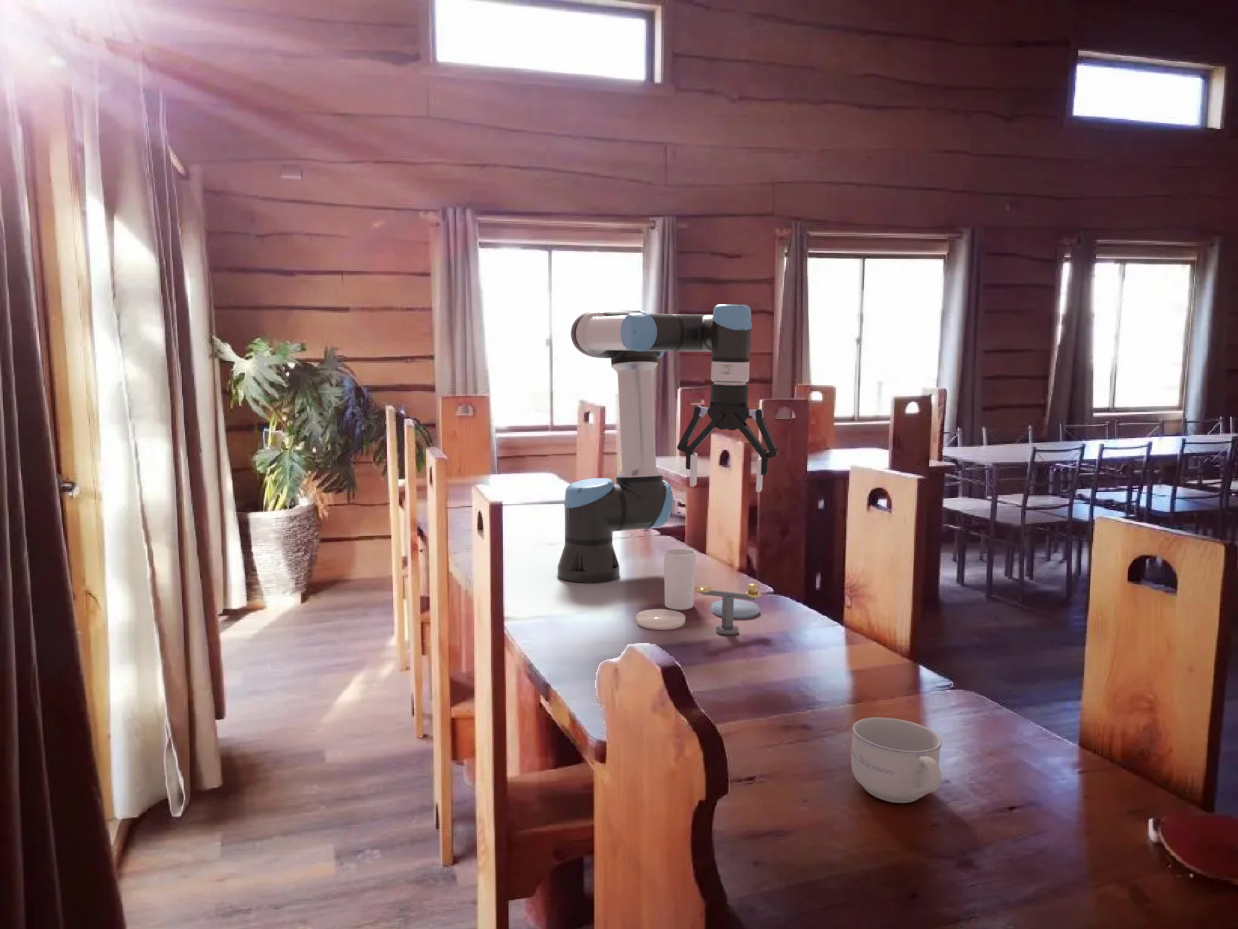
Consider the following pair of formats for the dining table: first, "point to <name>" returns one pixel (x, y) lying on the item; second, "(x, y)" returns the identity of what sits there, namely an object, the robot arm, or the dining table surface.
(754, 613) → the dish blue
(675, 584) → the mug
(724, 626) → the balance
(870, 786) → the teacup
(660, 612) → the dish cream
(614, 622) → the dining table surface
